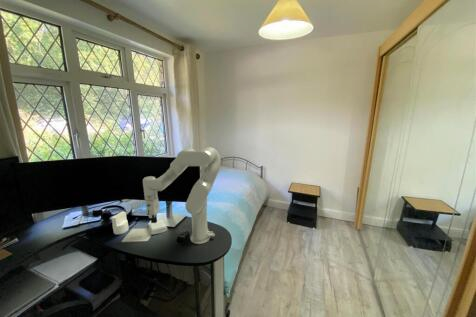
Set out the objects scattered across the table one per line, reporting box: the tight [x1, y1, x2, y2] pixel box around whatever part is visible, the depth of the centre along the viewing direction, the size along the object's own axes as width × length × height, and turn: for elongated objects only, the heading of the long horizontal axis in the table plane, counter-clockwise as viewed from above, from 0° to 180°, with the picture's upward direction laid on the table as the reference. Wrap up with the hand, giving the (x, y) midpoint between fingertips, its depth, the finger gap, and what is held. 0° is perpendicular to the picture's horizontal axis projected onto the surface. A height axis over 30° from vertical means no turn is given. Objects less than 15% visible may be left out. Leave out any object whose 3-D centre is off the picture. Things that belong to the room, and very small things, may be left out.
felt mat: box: [121, 227, 153, 243], centre depth 131 cm, size 16×14×1 cm
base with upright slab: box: [111, 211, 130, 235], centre depth 135 cm, size 9×9×12 cm
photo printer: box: [147, 219, 168, 235], centre depth 137 cm, size 10×4×12 cm
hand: (154, 222), depth 128 cm, fingers closed
